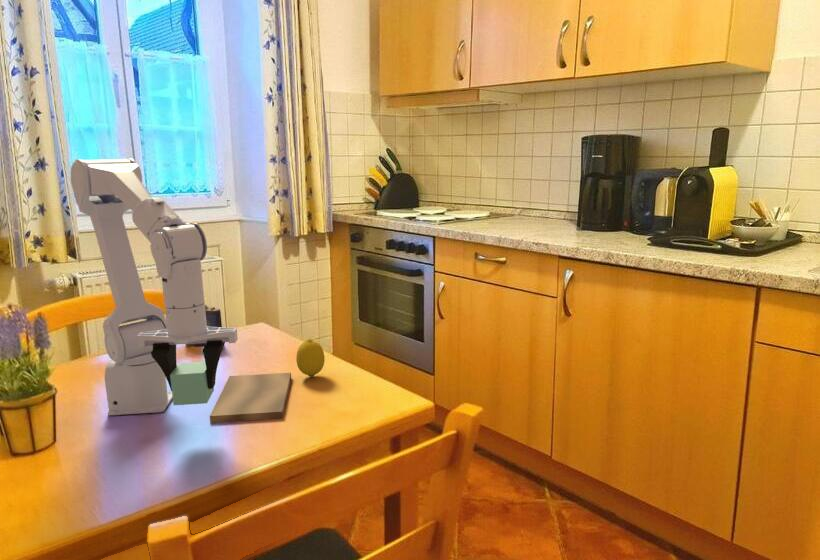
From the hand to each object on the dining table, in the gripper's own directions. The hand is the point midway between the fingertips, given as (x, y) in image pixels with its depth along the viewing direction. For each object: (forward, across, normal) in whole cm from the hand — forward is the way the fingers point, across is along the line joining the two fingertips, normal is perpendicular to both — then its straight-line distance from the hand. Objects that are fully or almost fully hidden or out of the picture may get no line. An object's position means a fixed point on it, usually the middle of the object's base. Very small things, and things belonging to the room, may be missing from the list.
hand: (193, 387), depth 93 cm
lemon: (+9, +17, +23) cm, 30 cm away
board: (+8, +7, +14) cm, 17 cm away
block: (+2, 0, 0) cm, 2 cm away
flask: (+9, -9, +47) cm, 48 cm away
